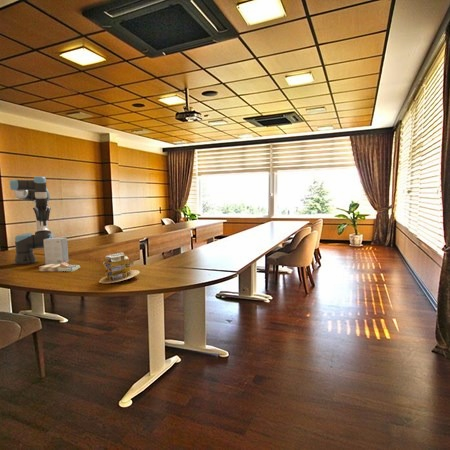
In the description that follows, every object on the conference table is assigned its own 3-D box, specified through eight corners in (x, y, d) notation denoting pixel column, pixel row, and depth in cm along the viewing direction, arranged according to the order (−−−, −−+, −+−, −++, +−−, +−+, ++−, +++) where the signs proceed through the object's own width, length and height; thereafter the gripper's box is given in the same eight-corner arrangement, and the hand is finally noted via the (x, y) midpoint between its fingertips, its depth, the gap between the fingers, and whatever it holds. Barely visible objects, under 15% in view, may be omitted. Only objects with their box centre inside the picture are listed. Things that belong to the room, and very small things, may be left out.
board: (39, 271, 219) (38, 267, 219) (48, 267, 229) (48, 263, 229) (57, 271, 218) (57, 267, 217) (66, 268, 227) (65, 264, 227)
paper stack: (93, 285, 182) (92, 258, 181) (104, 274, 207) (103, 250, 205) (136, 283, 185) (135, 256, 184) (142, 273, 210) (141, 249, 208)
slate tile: (71, 266, 219) (72, 269, 219) (75, 265, 223) (75, 268, 224) (66, 266, 219) (66, 269, 220) (70, 265, 224) (70, 268, 224)
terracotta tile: (59, 266, 220) (60, 263, 220) (63, 265, 225) (64, 262, 224) (65, 269, 220) (66, 266, 219) (69, 267, 224) (70, 264, 224)
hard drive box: (69, 262, 246) (67, 237, 244) (63, 264, 239) (61, 239, 237) (51, 262, 248) (49, 237, 246) (44, 264, 240) (42, 239, 238)
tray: (57, 271, 218) (57, 268, 217) (66, 268, 227) (66, 264, 227) (72, 271, 216) (72, 268, 216) (80, 268, 226) (80, 265, 226)
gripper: (29, 198, 220) (31, 230, 222) (46, 198, 218) (48, 230, 221) (36, 198, 227) (39, 229, 230) (53, 197, 226) (55, 229, 228)
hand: (43, 230), depth 225 cm, fingers closed
